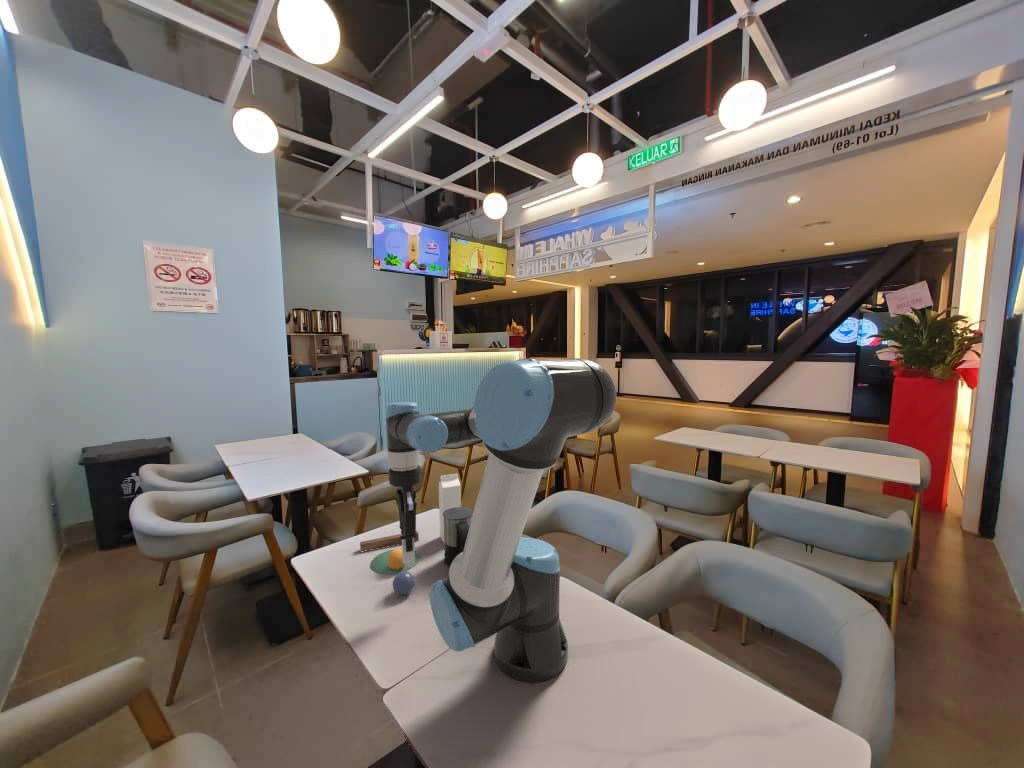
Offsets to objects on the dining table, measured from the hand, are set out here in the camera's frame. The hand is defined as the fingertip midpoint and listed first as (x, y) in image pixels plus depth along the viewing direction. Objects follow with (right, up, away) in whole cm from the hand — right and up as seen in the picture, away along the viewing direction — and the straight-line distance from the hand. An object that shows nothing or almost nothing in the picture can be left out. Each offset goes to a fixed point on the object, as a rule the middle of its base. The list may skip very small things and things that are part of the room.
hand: (408, 561), depth 96 cm
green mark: (-10, -10, +22) cm, 26 cm away
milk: (+5, -9, +36) cm, 37 cm away
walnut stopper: (-15, -9, +32) cm, 36 cm away
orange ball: (-8, -7, +18) cm, 21 cm away
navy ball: (-3, -8, +6) cm, 11 cm away
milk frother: (+13, -10, +23) cm, 28 cm away
